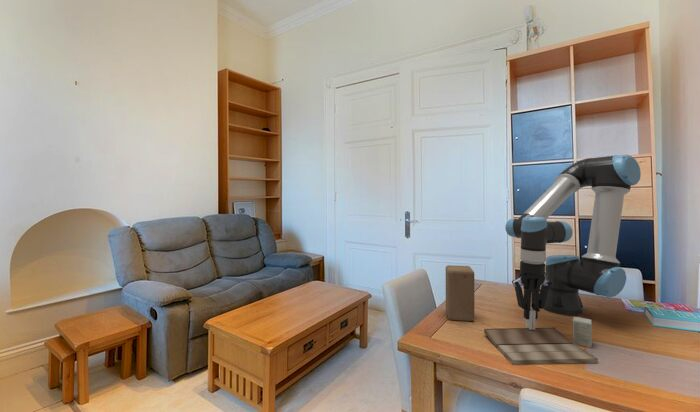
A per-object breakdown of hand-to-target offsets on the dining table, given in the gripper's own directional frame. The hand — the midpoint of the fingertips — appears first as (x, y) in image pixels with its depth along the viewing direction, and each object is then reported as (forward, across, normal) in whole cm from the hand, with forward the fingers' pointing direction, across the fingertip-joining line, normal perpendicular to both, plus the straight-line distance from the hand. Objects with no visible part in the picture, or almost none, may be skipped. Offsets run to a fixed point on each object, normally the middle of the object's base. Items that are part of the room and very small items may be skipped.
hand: (530, 327), depth 109 cm
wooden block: (+4, +18, -18) cm, 26 cm away
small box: (+3, -14, +6) cm, 15 cm away
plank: (+2, +4, +4) cm, 6 cm away
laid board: (+2, +3, +14) cm, 15 cm away
